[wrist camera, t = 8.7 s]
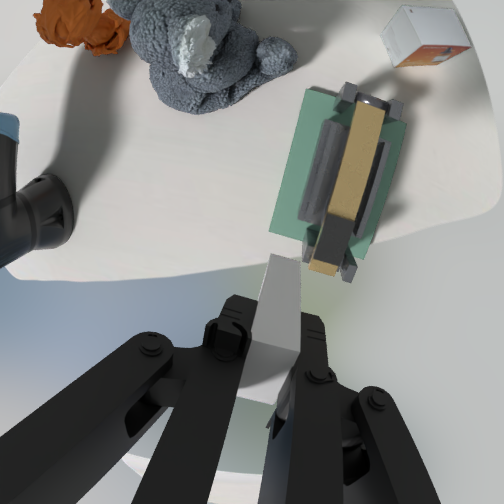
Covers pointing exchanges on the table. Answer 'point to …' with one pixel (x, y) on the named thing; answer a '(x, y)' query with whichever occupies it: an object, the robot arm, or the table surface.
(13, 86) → the table surface
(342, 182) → the tan and black bar
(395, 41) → the small box
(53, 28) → the orange tall rounded piece
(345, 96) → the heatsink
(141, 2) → the koala plush
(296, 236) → the board
